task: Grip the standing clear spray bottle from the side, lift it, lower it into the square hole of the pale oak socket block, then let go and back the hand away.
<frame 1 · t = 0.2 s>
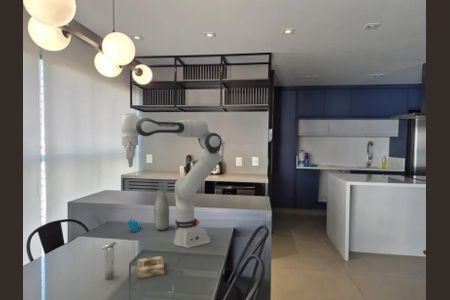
hand: (130, 166, 148), 48 cm above the table, tool pointing down, fingers open, 8 cm apart
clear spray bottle: (109, 277, 119), on the table
glass bottle: (161, 229, 183), on the table
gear: (134, 231, 181), on the table
socket block: (150, 270, 125), on the table
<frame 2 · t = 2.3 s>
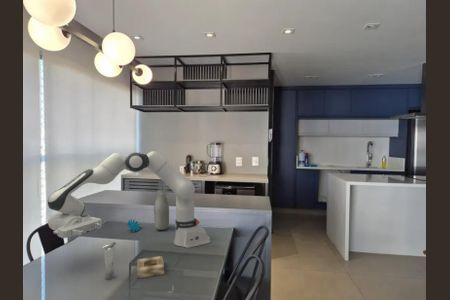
hand: (91, 229, 123), 20 cm above the table, tool horizontal, fingers open, 8 cm apart
nothing on the table moved.
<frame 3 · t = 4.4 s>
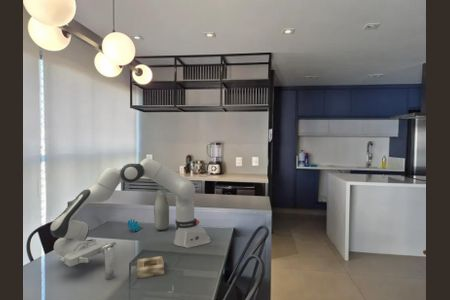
hand: (97, 256, 122), 8 cm above the table, tool horizontal, fingers open, 8 cm apart
nothing on the table moved.
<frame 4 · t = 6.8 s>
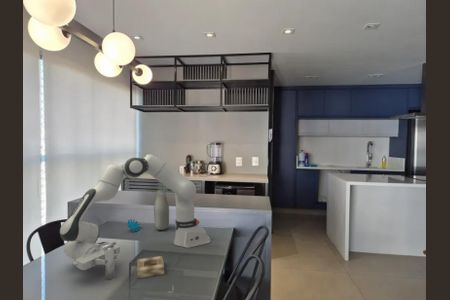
hand: (110, 259, 118), 8 cm above the table, tool horizontal, fingers closed on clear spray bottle, 4 cm apart
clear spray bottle: (109, 277, 119), on the table, touching gripper
everything else where it was.
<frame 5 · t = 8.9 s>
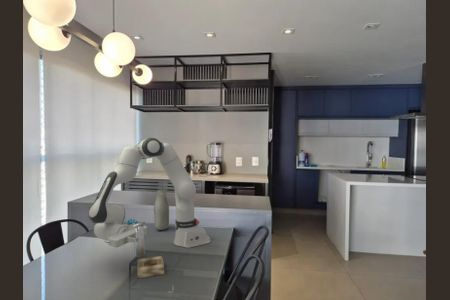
hand: (141, 238, 123), 16 cm above the table, tool horizontal, fingers closed on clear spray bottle, 4 cm apart
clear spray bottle: (140, 255, 123), point 8 cm above the table, touching gripper
everything else where it was.
when the fingers open (10 cm above the table, at t = 11.3 s): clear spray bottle drops 1 cm, resting in socket block.
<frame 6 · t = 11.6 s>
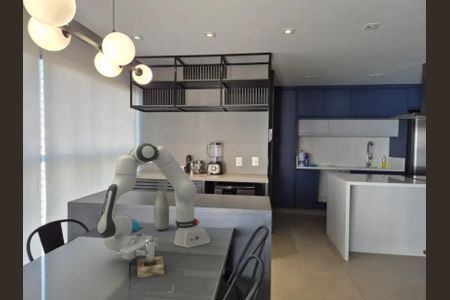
hand: (151, 250, 125), 10 cm above the table, tool horizontal, fingers open, 6 cm apart
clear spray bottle: (150, 269, 125), resting in socket block
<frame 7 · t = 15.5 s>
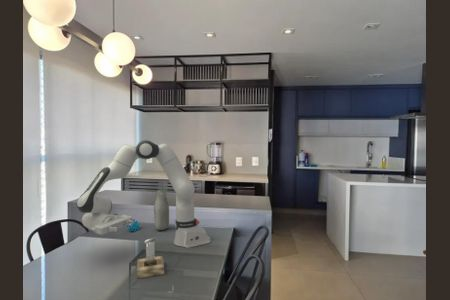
hand: (125, 226, 133), 19 cm above the table, tool horizontal, fingers open, 8 cm apart
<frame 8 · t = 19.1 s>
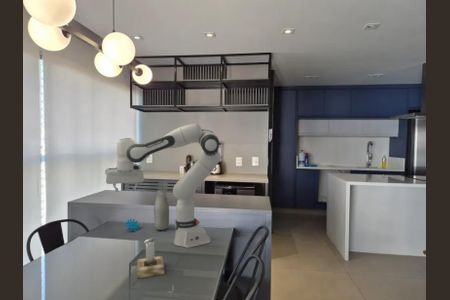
hand: (125, 190, 148), 34 cm above the table, tool pointing down, fingers open, 8 cm apart
at the end: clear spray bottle 0.0 cm off-centre on the socket block, point 0.0 cm above the socket block's base; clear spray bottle tilted 0°; the gripper is holding nothing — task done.
